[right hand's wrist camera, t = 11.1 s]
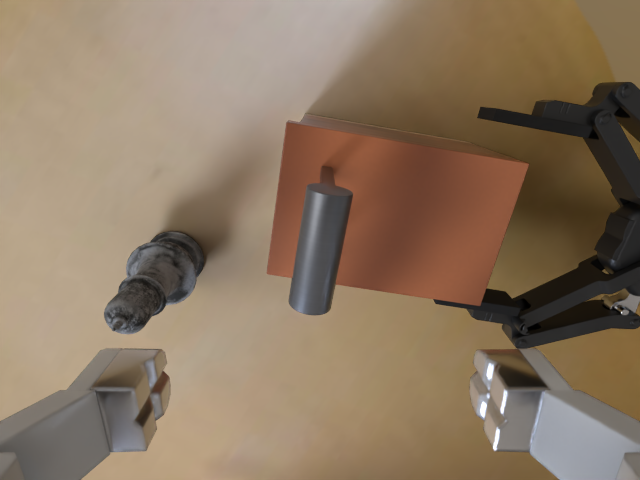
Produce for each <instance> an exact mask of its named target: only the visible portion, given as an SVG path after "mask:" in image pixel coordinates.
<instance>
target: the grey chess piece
mask: <svg viewBox="0 0 640 480" xmlns="http://www.w3.org/2000/svg"><path fill="white" fill-rule="evenodd" d="M203 265H204V256H203V253H202V250H201V248H200V247H199V245H198V244H197V243H196V242H195V241H194V240H193V239H192V238H191V237H189V236H187V235H186V234H183V233H180V232H172V231H170V232H164V233H161V234H159V235H157V236H156V237H155V238H154V239H153V240H151V242H150V243H146V244H144V245H142V246H139V247H138V248H137V249H136V250H135V251H133V252H132V254H131V255H130V257H129V259H128V262H127V267H126V270H127V278H126V279H125V280H124V281H122V283H121V285H120V286H119V291H118V294H117V295H116V296H115V297H114V298H113V299H112V300H111V301H110V302H109V303H108V305H107V306H106V308H105V312H104V317H105V320H106V323H107V324H108V326H109V327H110V328H111V329H112V331H116V332H118V333H121V334H134V333H136V332H138V331H140V330H141V329H142V328H143V327H144V326H145V325H146V323H147V322H148V321H149V319H150V318H151V317H152V316H154V315H157V314H159V313H160V312H161V311H162V310H163V309H164V307H165V306H166V305H171V304H176V303H179V302H181V301H183V300H185V299H186V298H187V297H188V296H189V295H190V294H191V293H192V291H193V290H194V288H195V284H196V277H198V276H199V274H200V272H201V271H202V269H203Z"/></svg>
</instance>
